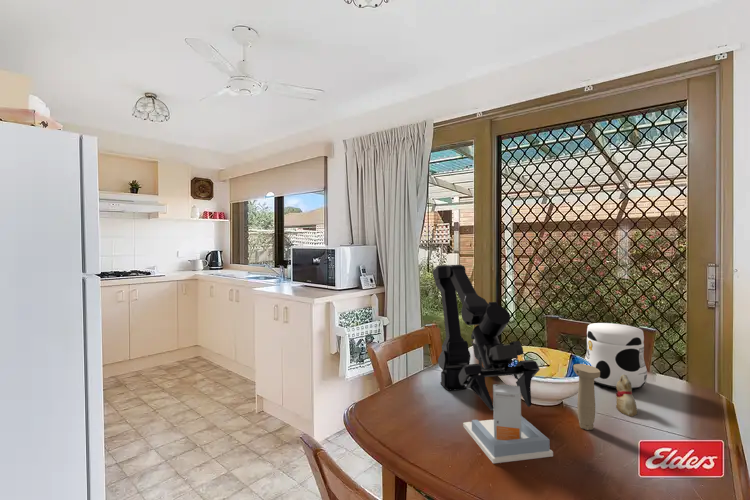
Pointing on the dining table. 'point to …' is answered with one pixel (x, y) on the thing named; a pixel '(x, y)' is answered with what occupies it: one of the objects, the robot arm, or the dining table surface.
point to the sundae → (476, 353)
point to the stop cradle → (509, 442)
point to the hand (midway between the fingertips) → (511, 407)
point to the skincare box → (507, 412)
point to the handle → (586, 394)
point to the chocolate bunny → (625, 397)
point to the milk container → (616, 353)
